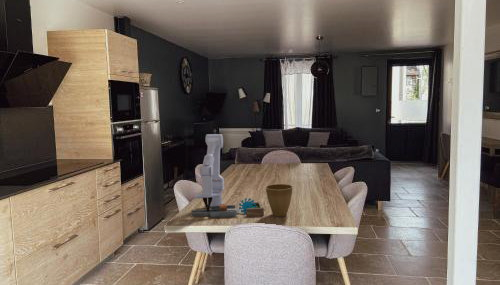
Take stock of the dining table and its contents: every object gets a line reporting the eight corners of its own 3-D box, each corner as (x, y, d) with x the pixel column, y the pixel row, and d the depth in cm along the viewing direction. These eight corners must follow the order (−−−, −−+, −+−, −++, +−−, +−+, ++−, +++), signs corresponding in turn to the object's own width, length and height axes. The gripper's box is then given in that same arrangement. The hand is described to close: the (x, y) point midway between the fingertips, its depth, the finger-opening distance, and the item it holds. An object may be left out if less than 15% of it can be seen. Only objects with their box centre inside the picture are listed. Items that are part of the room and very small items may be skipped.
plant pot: (290, 210, 217) (290, 183, 216) (294, 218, 202) (294, 189, 201) (265, 211, 217) (264, 184, 215) (267, 219, 202) (266, 190, 200)
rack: (244, 209, 222) (244, 202, 221) (260, 208, 223) (260, 201, 222) (246, 216, 208) (246, 209, 208) (263, 215, 209) (263, 208, 208)
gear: (236, 210, 213) (241, 195, 218) (237, 215, 217) (243, 201, 223) (254, 214, 209) (259, 199, 215) (256, 219, 214) (260, 204, 220)
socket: (192, 211, 219) (192, 206, 219) (235, 209, 221) (235, 204, 221) (190, 218, 205) (190, 213, 205) (236, 216, 207) (236, 211, 207)
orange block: (219, 212, 216) (219, 203, 215) (239, 211, 217) (238, 202, 216) (220, 214, 212) (219, 205, 211) (239, 213, 213) (239, 204, 212)
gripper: (193, 189, 207) (194, 213, 208) (220, 188, 208) (220, 211, 210) (194, 186, 214) (195, 209, 215) (220, 185, 215) (220, 208, 216)
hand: (208, 210), depth 213 cm, fingers closed
